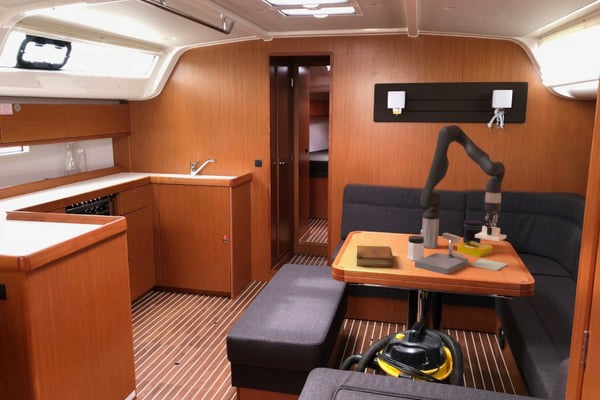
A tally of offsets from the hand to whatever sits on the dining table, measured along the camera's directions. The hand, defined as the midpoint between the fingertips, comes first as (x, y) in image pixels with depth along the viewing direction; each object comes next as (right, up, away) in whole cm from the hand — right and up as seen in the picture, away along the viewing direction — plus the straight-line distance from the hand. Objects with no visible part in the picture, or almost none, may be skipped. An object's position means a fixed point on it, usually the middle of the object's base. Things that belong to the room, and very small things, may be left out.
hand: (490, 234), depth 248 cm
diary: (-58, -16, +11) cm, 61 cm away
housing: (-25, -17, +2) cm, 30 cm away
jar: (-35, -15, +15) cm, 41 cm away
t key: (-18, -12, +6) cm, 22 cm away
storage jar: (+5, -10, +41) cm, 43 cm away
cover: (0, -2, 0) cm, 2 cm away
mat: (0, -16, +3) cm, 17 cm away
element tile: (+2, -13, +28) cm, 30 cm away
